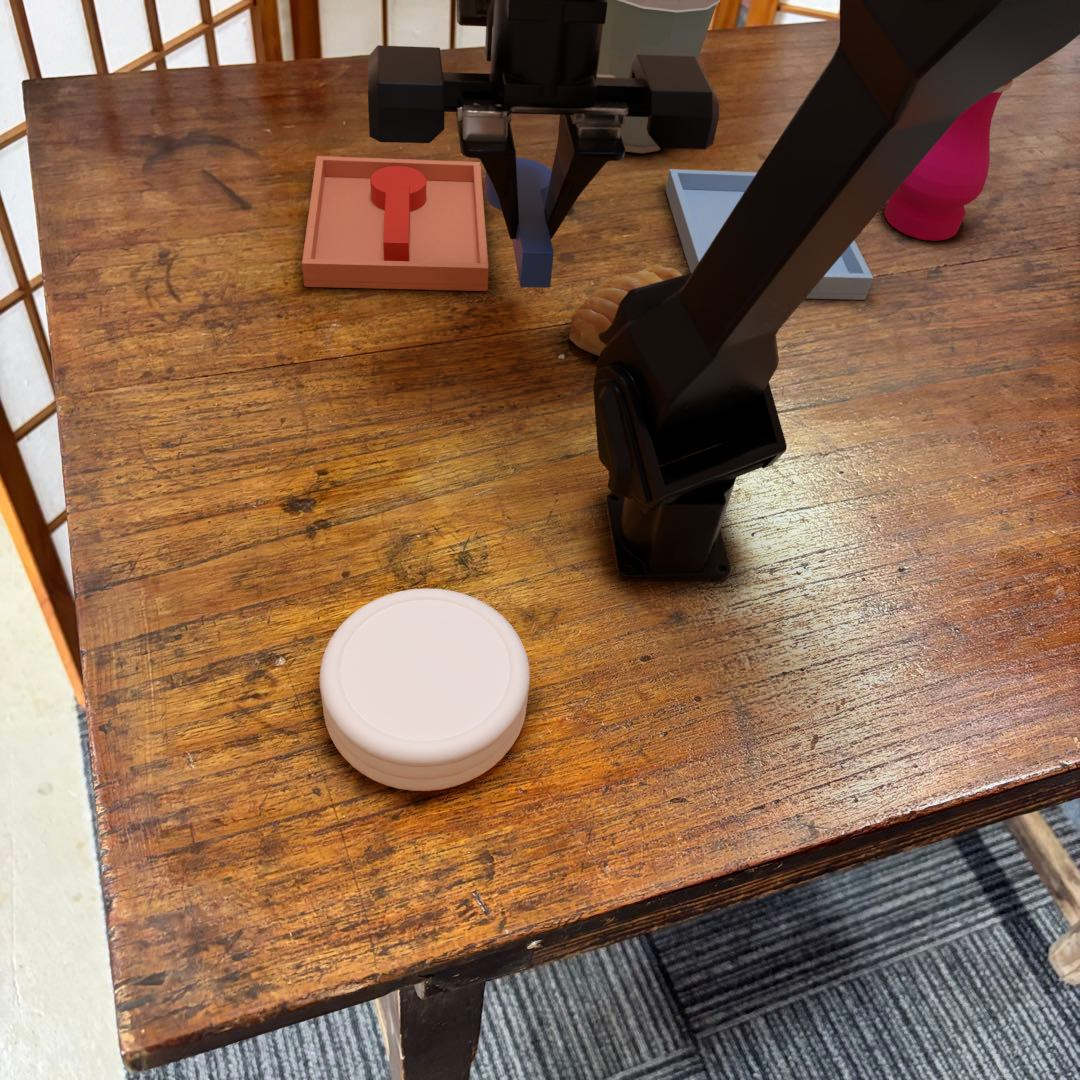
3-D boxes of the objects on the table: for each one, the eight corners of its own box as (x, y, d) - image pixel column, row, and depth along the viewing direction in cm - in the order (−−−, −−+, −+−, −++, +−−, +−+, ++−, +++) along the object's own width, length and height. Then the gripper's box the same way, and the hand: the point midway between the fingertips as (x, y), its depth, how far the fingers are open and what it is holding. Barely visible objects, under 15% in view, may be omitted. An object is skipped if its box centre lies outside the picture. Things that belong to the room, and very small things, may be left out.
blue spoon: (572, 288, 60) (576, 252, 58) (498, 287, 60) (500, 252, 58) (547, 180, 68) (550, 146, 67) (482, 178, 68) (483, 144, 66)
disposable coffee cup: (560, 148, 90) (579, -36, 79) (594, 99, 97) (616, -77, 86) (677, 176, 88) (712, -8, 77) (702, 124, 95) (739, -52, 84)
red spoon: (427, 272, 75) (426, 243, 73) (366, 270, 74) (364, 241, 73) (426, 184, 83) (426, 157, 81) (371, 182, 83) (370, 154, 81)
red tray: (487, 291, 75) (488, 267, 73) (304, 287, 73) (301, 263, 72) (479, 184, 85) (480, 161, 83) (318, 178, 83) (316, 155, 82)
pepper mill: (930, 254, 83) (1039, -6, 68) (861, 213, 87) (950, -42, 72) (980, 228, 86) (1094, -24, 72) (911, 190, 90) (1007, -58, 75)
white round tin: (472, 600, 56) (474, 558, 53) (561, 745, 50) (568, 707, 47) (295, 665, 52) (288, 623, 49) (369, 829, 46) (366, 792, 44)
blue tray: (865, 300, 78) (873, 277, 76) (697, 296, 76) (702, 273, 75) (814, 195, 88) (821, 174, 86) (665, 190, 86) (669, 168, 85)
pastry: (607, 380, 69) (615, 334, 66) (545, 330, 72) (549, 284, 69) (705, 334, 73) (715, 289, 70) (641, 289, 77) (649, 244, 74)
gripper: (701, -90, 57) (655, 171, 68) (362, -109, 54) (373, 165, 66) (750, -12, 49) (689, 265, 61) (361, -29, 47) (375, 263, 59)
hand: (530, 235), depth 62 cm, fingers closed on blue spoon, 2 cm apart
